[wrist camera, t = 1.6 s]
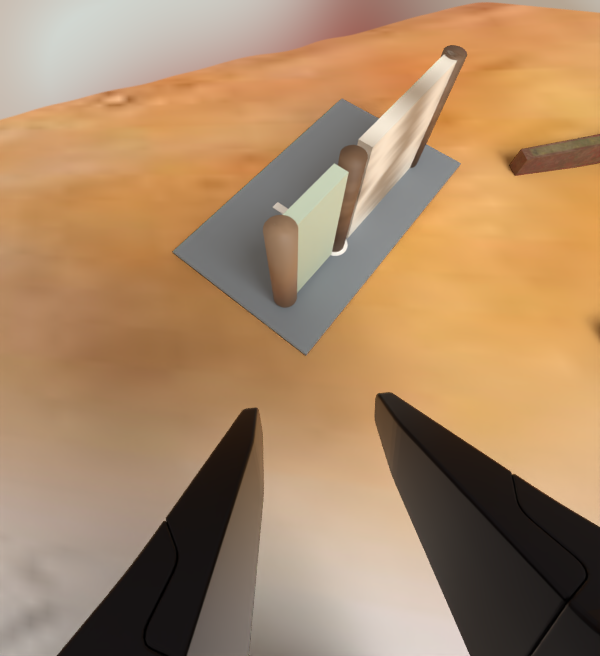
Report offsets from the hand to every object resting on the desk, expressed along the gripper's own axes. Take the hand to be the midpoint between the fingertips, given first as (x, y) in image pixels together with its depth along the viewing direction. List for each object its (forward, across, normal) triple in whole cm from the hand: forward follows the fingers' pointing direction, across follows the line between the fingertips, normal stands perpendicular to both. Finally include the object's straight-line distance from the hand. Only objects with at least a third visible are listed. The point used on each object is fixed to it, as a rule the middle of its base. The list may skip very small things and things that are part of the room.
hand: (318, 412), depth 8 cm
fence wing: (+16, -1, +1) cm, 16 cm away
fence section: (+21, -8, -4) cm, 23 cm away
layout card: (+22, -4, -4) cm, 22 cm away
